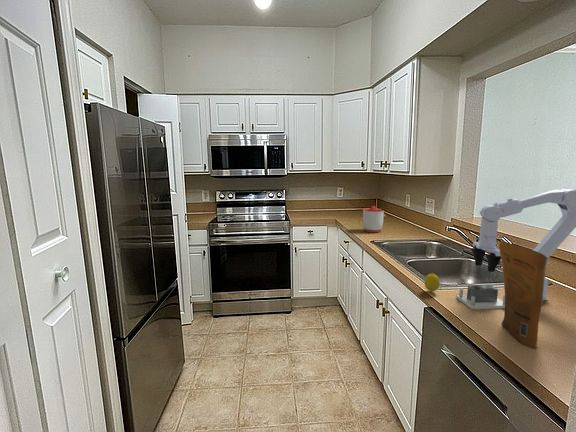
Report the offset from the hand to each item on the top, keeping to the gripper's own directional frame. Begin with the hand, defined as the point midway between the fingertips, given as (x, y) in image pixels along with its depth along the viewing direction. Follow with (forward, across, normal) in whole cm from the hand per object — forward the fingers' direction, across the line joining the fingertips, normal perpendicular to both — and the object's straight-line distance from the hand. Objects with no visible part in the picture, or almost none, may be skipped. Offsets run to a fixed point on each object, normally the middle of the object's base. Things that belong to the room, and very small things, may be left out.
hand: (484, 268), depth 129 cm
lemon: (+10, -1, -21) cm, 23 cm away
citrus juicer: (+10, -116, -7) cm, 117 cm away
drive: (+9, +10, -7) cm, 15 cm away
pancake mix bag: (+10, +32, -11) cm, 35 cm away
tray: (+10, +10, -7) cm, 16 cm away
